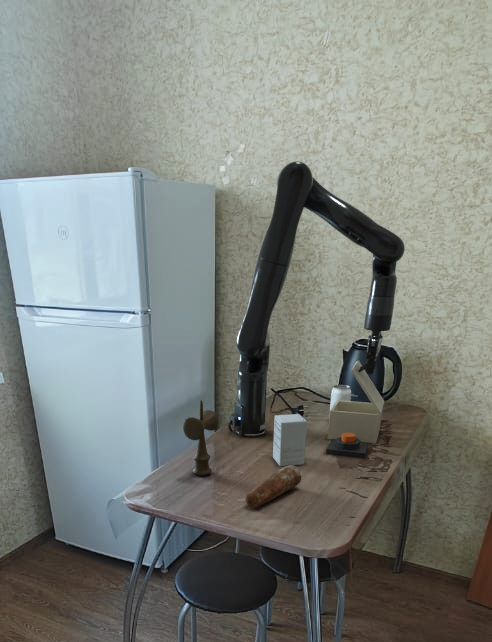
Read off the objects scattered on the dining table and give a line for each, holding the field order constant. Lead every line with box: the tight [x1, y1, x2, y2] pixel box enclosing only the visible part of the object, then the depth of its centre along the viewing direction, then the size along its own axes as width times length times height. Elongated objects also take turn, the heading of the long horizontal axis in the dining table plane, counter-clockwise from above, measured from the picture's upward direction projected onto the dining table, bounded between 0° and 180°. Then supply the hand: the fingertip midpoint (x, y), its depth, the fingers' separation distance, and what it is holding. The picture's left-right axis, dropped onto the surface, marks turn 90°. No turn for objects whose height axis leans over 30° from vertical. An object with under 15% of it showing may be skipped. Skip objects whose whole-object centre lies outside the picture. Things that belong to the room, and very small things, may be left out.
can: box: [328, 384, 352, 418], centre depth 194 cm, size 6×6×12 cm
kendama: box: [182, 399, 220, 477], centre depth 150 cm, size 6×10×20 cm, turn 150°
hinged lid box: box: [327, 400, 384, 444], centre depth 182 cm, size 15×14×9 cm
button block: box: [325, 437, 369, 459], centre depth 169 cm, size 11×9×4 cm
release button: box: [341, 433, 356, 443], centre depth 168 cm, size 4×4×2 cm
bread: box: [245, 465, 302, 509], centre depth 140 cm, size 6×19×6 cm, turn 140°
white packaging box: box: [272, 413, 308, 467], centre depth 160 cm, size 7×7×13 cm
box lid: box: [350, 360, 385, 414], centre depth 175 cm, size 16×14×5 cm
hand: (370, 371), depth 174 cm, fingers closed on box lid, 5 cm apart
